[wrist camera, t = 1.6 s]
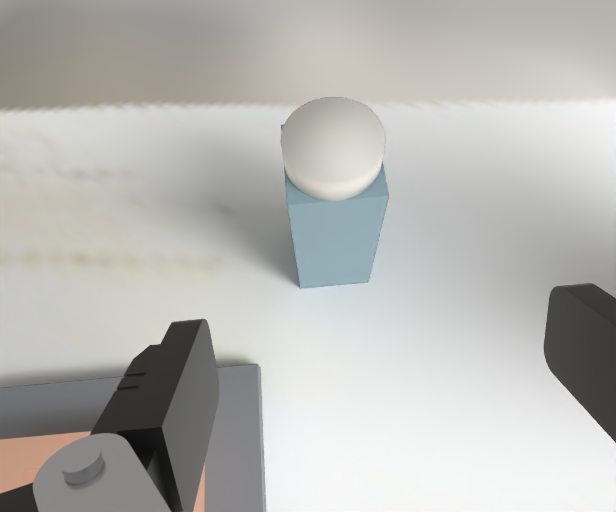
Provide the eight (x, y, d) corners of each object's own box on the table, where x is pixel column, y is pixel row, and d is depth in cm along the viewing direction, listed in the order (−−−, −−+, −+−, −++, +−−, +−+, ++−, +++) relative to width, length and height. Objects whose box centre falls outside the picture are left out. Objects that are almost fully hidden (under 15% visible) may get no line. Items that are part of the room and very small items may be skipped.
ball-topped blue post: (359, 222, 31) (377, 92, 20) (368, 282, 29) (393, 176, 18) (295, 228, 31) (277, 101, 20) (300, 288, 29) (284, 186, 18)
